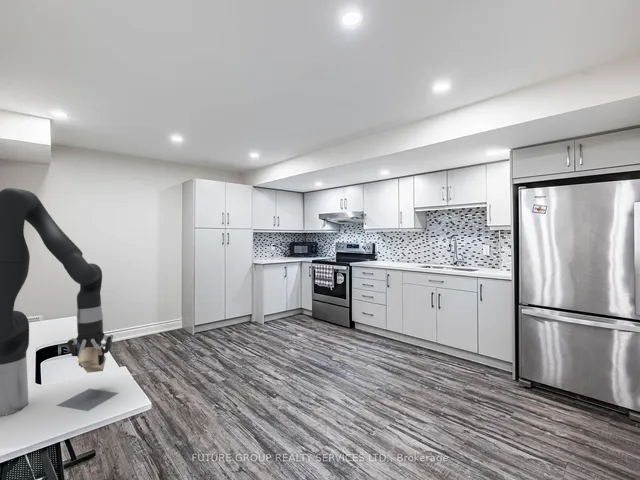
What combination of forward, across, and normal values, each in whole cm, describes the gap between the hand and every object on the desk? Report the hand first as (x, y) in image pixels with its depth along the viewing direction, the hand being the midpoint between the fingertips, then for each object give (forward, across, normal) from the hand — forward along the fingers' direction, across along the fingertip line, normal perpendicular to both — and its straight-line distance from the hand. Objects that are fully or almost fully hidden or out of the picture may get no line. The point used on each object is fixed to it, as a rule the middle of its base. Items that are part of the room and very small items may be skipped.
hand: (92, 365), depth 117 cm
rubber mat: (+12, 0, -3) cm, 12 cm away
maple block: (+2, 0, +4) cm, 5 cm away
